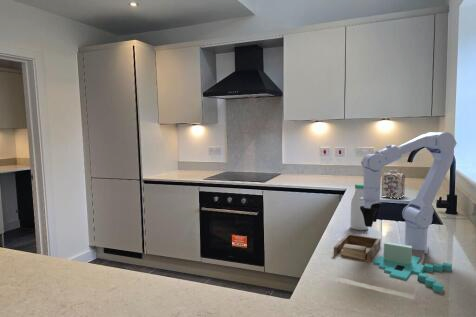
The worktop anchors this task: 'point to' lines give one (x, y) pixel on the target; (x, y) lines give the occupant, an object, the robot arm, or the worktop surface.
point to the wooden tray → (368, 242)
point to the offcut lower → (354, 254)
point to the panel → (398, 253)
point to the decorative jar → (393, 184)
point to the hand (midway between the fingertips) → (370, 223)
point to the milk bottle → (357, 209)
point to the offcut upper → (354, 249)
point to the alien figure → (413, 270)
